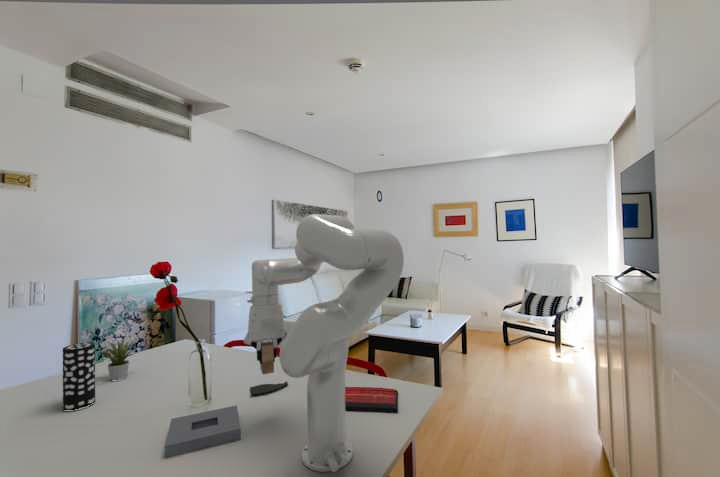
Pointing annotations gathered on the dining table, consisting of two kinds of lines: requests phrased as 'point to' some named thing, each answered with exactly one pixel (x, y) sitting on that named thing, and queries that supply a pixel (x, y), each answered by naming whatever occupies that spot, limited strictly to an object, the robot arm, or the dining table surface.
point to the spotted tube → (78, 375)
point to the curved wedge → (266, 389)
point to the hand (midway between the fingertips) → (266, 361)
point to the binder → (371, 399)
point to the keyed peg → (267, 358)
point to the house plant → (118, 360)
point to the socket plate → (202, 431)
